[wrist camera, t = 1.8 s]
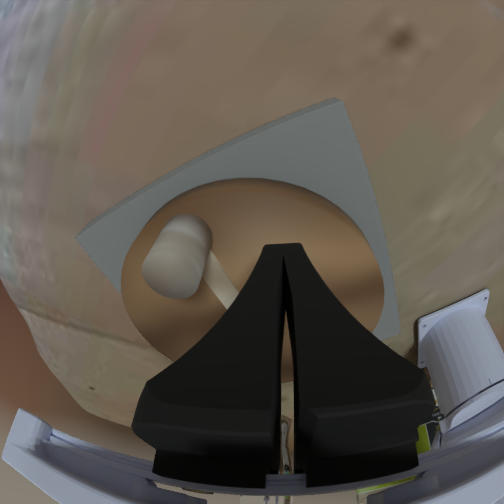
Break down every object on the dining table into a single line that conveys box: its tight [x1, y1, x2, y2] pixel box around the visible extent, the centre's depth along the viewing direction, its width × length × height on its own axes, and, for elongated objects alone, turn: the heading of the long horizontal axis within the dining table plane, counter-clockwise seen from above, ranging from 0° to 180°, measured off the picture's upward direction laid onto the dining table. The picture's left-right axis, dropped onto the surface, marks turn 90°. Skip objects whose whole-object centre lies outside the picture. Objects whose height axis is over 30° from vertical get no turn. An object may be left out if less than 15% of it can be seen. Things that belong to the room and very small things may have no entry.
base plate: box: [75, 98, 401, 340], centre depth 19 cm, size 18×18×2 cm
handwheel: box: [121, 178, 385, 383], centre depth 16 cm, size 16×16×5 cm
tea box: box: [356, 389, 444, 504], centre depth 28 cm, size 15×10×15 cm, turn 109°
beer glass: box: [240, 416, 293, 504], centre depth 30 cm, size 7×7×15 cm
